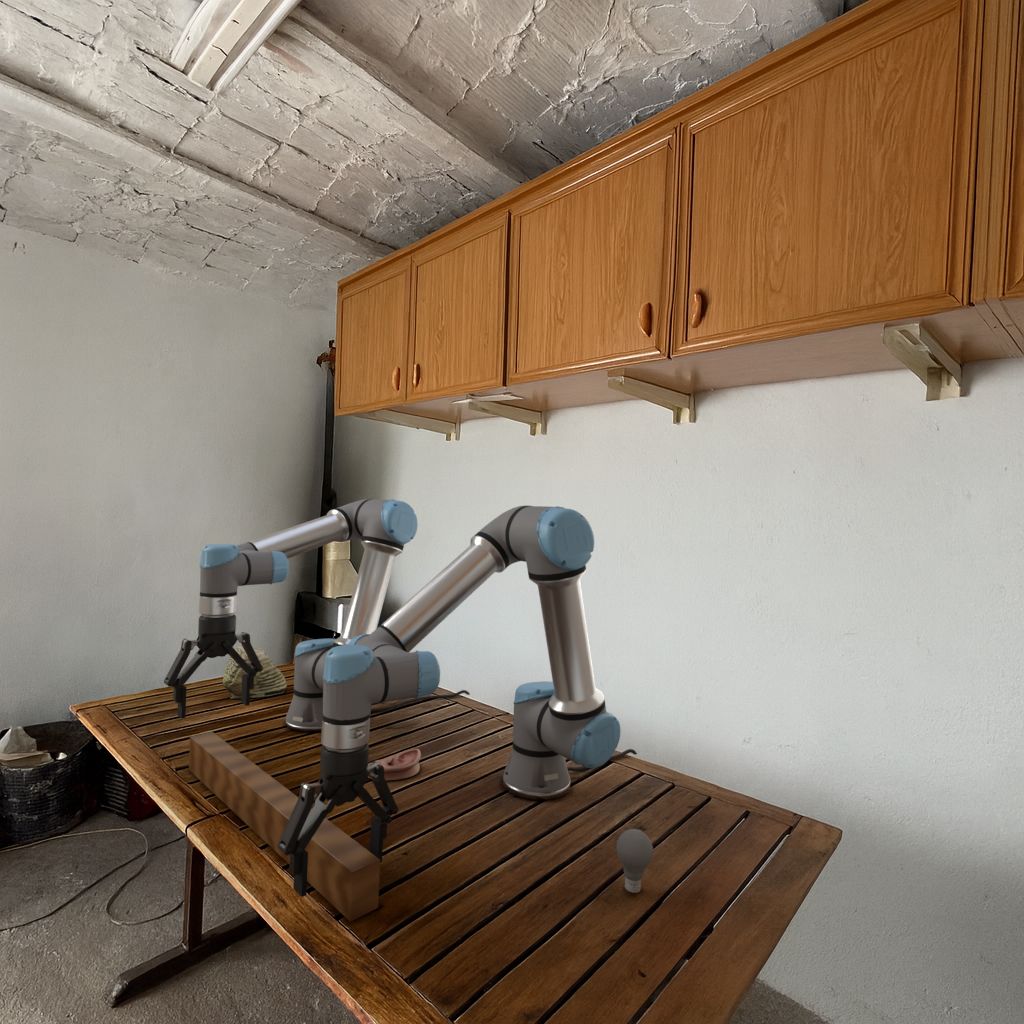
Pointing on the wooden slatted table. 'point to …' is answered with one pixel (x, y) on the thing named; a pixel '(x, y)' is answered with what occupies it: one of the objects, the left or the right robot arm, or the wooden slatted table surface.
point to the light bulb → (634, 857)
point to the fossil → (264, 681)
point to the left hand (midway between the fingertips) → (214, 710)
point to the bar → (266, 810)
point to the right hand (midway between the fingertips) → (339, 875)
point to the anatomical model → (401, 765)
